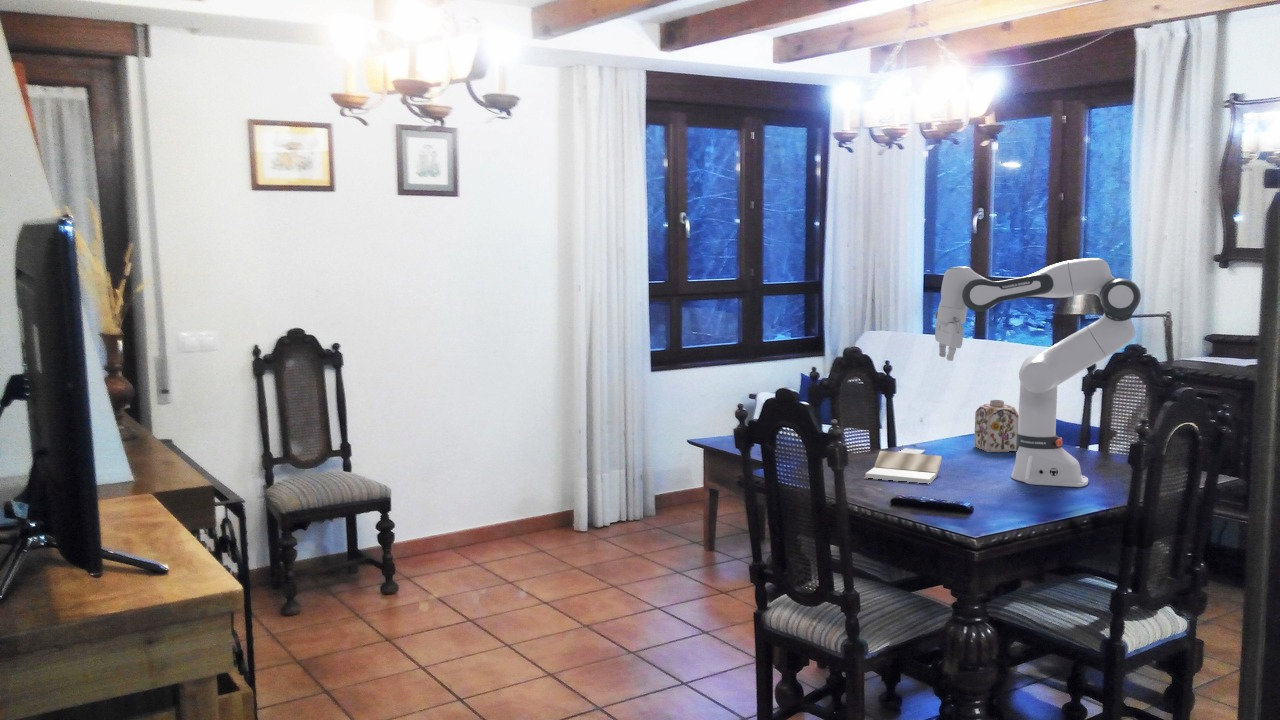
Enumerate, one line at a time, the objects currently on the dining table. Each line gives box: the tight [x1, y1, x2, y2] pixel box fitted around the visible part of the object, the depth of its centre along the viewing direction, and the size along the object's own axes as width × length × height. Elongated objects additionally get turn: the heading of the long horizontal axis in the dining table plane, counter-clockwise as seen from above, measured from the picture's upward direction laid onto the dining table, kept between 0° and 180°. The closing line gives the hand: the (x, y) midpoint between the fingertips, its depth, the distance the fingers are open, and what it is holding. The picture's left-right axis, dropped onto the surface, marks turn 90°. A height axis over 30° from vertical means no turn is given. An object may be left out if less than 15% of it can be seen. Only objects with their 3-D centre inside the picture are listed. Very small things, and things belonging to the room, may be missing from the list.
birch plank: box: [873, 450, 943, 477], centre depth 336 cm, size 20×8×2 cm, turn 62°
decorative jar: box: [973, 399, 1019, 453], centre depth 373 cm, size 12×12×18 cm
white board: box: [864, 467, 937, 485], centre depth 328 cm, size 20×10×2 cm, turn 62°
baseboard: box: [897, 444, 926, 454], centre depth 359 cm, size 30×3×10 cm
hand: (945, 358), depth 334 cm, fingers open, 8 cm apart
